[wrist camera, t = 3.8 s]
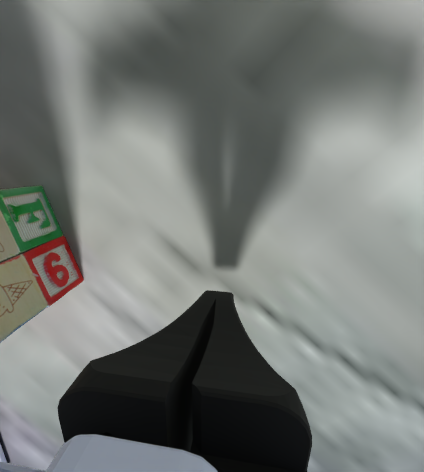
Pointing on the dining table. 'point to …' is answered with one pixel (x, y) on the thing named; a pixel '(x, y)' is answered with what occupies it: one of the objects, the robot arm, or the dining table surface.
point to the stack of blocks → (31, 257)
